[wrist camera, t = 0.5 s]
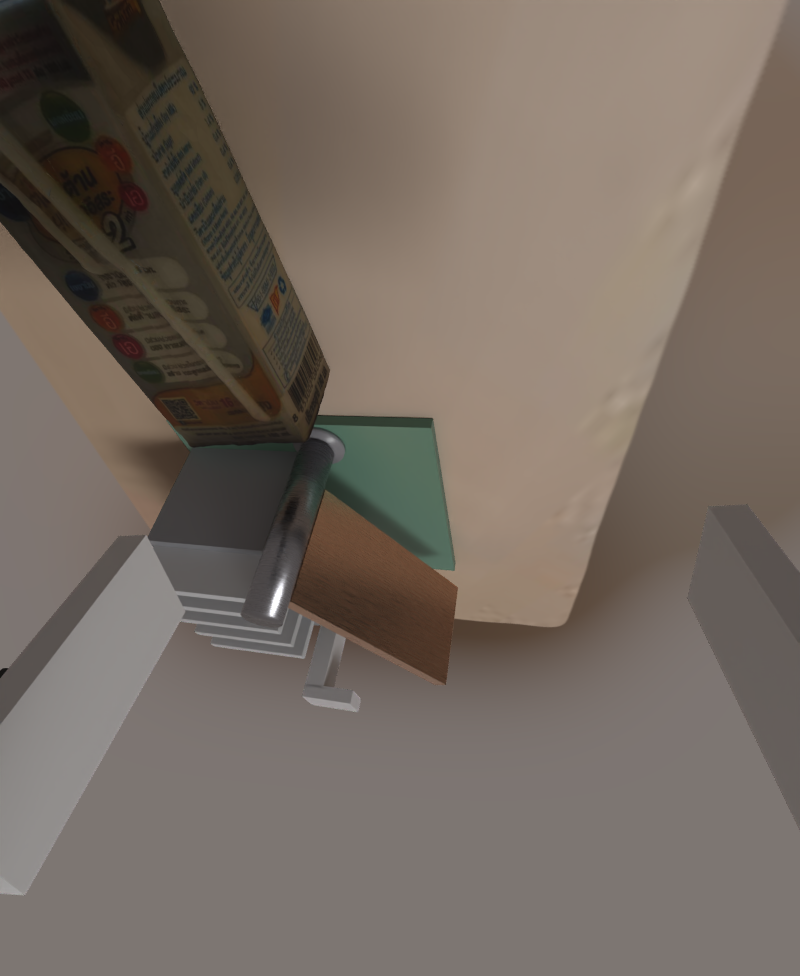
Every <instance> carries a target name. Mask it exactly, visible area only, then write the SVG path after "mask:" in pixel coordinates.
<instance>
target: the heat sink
mask: <svg viewBox="0 0 800 976" xmlns="http://www.w3.org/2000/svg"><path fill="white" fill-rule="evenodd" d="M166 421H167V422H168V423H169V425H170V426H171V427H172V429H173V430H174V431H175V432H176V434H177V435H178V436H179V438H180V439H181V440H182V442H183V443H184V444H185V446H186V447H187V448H188V450H189V451H190V454H189V456H188V458H187V460H186V461H185V463H184V465H183V467H182V469H181V471H180V473H179V475H178V477H177V479H176V481H175V483H174V485H173V487H172V489H171V491H170V493H169V495H168V497H167V499H166V501H165V503H164V505H163V507H162V509H161V511H160V513H159V515H158V517H157V519H156V521H155V523H154V525H153V527H152V529H151V531H150V534H149V536H148V539H149V541H150V543H151V545H152V546H153V549H154V551H155V553H156V555H157V557H158V559H159V561H160V563H161V565H162V567H163V569H164V571H165V572H166V574H167V576H168V578H169V580H170V582H171V584H172V586H173V588H174V590H175V592H176V594H177V596H178V598H179V600H180V602H181V604H182V606H183V608H184V610H185V613H184V615H183V617H182V619H181V620H180V621H181V622H188V623H196V624H197V626H196V629H195V632H196V633H197V634H198V635H205V636H213V637H212V640H211V644H212V645H213V646H216V647H223V648H230V649H238V650H245V651H253V652H260V653H267V654H274V655H282V656H289V657H296V658H303V659H304V658H305V655H306V651H307V647H308V644H309V640H310V637H311V633H312V629H313V625H319V626H320V624H318V623H316V622H314V621H312V620H310V619H308V618H306V617H304V616H302V615H301V614H299V613H297V612H295V611H293V610H291V609H289V608H288V609H287V612H286V616H285V619H284V622H283V625H282V626H281V627H278V628H271V627H264V626H260V625H257V624H254V623H251V622H249V621H247V620H245V619H244V618H243V617H242V616H241V615H240V614H241V611H242V608H243V605H244V602H245V600H246V597H247V594H248V591H249V588H250V586H251V583H252V580H253V577H254V574H255V572H256V569H257V566H258V563H259V560H260V558H261V555H262V552H263V549H264V546H265V544H266V541H267V538H268V535H269V532H270V530H271V527H272V524H273V521H274V519H275V516H276V513H277V510H278V507H279V505H280V502H281V499H282V496H283V493H284V491H285V488H286V485H287V482H288V479H289V477H290V474H291V471H292V468H293V465H294V463H295V460H296V457H297V454H298V451H299V449H300V446H301V444H302V443H265V444H256V445H242V446H237V445H214V446H206V447H196V448H193V447H190V446H189V445H188V443H187V441H186V440H185V439H184V438H183V437H182V436H181V435H180V434H179V433H178V432H177V431H176V430H175V429H174V428H173V426H172V425H171V424H170V422H169V421H168V420H166ZM307 441H318V442H322V443H324V444H326V445H328V446H329V447H330V448H331V449H332V450H333V452H334V455H335V456H334V460H333V463H332V466H331V469H330V473H329V476H328V479H327V482H326V486H325V489H326V490H327V491H328V492H330V493H331V494H333V495H334V496H335V497H337V498H338V499H339V500H341V501H342V502H343V503H345V504H346V505H347V506H349V507H350V508H351V509H353V510H354V511H355V512H357V513H358V514H360V515H361V516H362V517H364V518H365V519H366V520H368V521H369V522H370V523H372V524H373V525H374V526H376V527H377V528H378V529H380V530H381V531H382V532H384V533H385V534H386V535H388V536H389V537H391V538H392V539H393V540H395V541H396V542H397V543H399V544H400V545H401V546H403V547H404V548H405V549H407V550H408V551H409V552H411V553H412V554H413V555H415V556H416V557H418V558H419V559H420V560H422V561H423V562H424V563H426V564H427V565H428V566H430V567H431V568H432V569H441V570H452V571H454V570H455V557H454V551H453V544H452V538H451V531H450V525H449V519H448V512H447V506H446V499H445V493H444V487H443V480H442V474H441V467H440V461H439V455H438V448H437V442H436V435H435V429H434V422H433V419H431V418H391V417H352V416H317V418H316V421H315V424H314V427H313V430H312V433H311V435H310V438H309V439H308V440H307ZM325 489H324V490H325ZM345 639H346V638H344V637H343V636H341V635H339V634H337V633H335V632H333V631H331V630H329V629H327V628H325V627H323V626H322V625H321V627H320V630H319V634H318V638H317V642H316V645H315V649H314V653H313V657H312V661H311V664H310V668H309V672H308V675H307V679H306V683H305V687H304V690H303V694H302V697H303V698H305V699H306V700H307V701H308V702H309V703H311V704H312V705H317V706H323V707H329V708H336V709H342V710H348V711H354V712H358V711H359V707H360V702H361V699H360V698H359V697H358V695H357V694H356V693H355V692H354V691H353V690H347V689H341V688H334V686H335V681H336V676H337V673H338V669H339V664H340V660H341V655H342V652H343V647H344V643H345Z"/></svg>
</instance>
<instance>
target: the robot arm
mask: <svg viewBox="0 0 800 976" xmlns="http://www.w3.org/2000/svg"><path fill="white" fill-rule="evenodd" d="M687 599H688V601H689V603H690V605H691V607H692V609H693V611H694V613H695V615H696V617H697V619H698V621H699V623H700V626H701V627H702V630H703V632H704V634H705V636H706V638H707V640H708V642H709V644H710V646H711V648H712V650H713V652H714V654H715V656H716V659H717V661H718V663H719V665H720V667H721V669H722V671H723V673H724V675H725V677H726V679H727V681H728V683H729V685H730V687H731V689H732V691H733V694H734V696H735V698H736V700H737V702H738V704H739V706H740V708H741V710H742V712H743V714H744V716H745V718H746V720H747V722H748V725H749V727H750V729H751V731H752V733H753V735H754V737H755V739H756V741H757V743H758V745H759V747H760V749H761V751H762V753H763V755H764V758H765V759H766V762H767V764H768V766H769V768H770V770H771V772H772V774H773V776H774V778H775V780H776V782H777V784H778V786H779V788H780V790H781V793H782V795H783V797H784V799H785V801H786V803H787V805H788V807H789V809H790V811H791V813H792V815H793V817H794V819H795V821H796V823H797V826H798V828H799V830H800V572H799V571H798V570H797V568H796V567H795V566H794V565H793V563H792V562H791V561H790V559H789V558H788V557H787V555H786V554H785V553H784V552H783V550H782V549H781V548H780V546H779V545H778V544H777V542H776V541H775V540H774V539H773V537H772V536H771V535H770V533H769V532H768V531H767V529H766V528H765V527H764V525H763V524H762V523H761V521H760V520H759V519H758V518H757V516H756V515H755V514H754V512H753V511H752V510H751V509H750V507H749V506H748V505H747V504H746V505H727V506H709V507H708V511H707V515H706V519H705V523H704V528H703V532H702V537H701V541H700V545H699V550H698V554H697V559H696V563H695V567H694V571H693V576H692V581H691V584H690V589H689V593H688V598H687ZM184 613H185V610H184V608H183V606H182V604H181V602H180V600H179V598H178V596H177V594H176V592H175V590H174V588H173V586H172V584H171V582H170V580H169V578H168V576H167V574H166V572H165V571H164V569H163V567H162V565H161V563H160V561H159V559H158V557H157V555H156V553H155V551H154V549H153V547H152V545H151V543H150V541H149V539H148V537H147V535H135V536H119V537H118V538H117V539H116V540H115V541H114V542H113V544H112V545H111V546H110V547H109V549H108V550H107V551H106V552H105V553H104V554H103V556H102V557H101V558H100V559H99V560H98V562H97V563H96V564H95V565H94V567H93V568H92V569H91V570H90V571H89V573H88V574H87V575H86V576H85V577H84V579H83V580H82V581H81V582H80V583H79V584H78V586H77V587H76V588H75V589H74V590H73V592H72V593H71V594H70V595H69V597H68V598H67V599H66V600H65V601H64V603H63V604H62V605H61V606H60V607H59V608H58V610H57V611H56V612H55V613H54V614H53V616H52V617H51V618H50V619H49V620H48V622H47V623H46V624H45V625H44V626H43V628H42V629H41V630H40V631H39V632H38V634H37V635H36V636H35V637H34V638H33V640H32V641H31V642H30V643H29V644H28V646H27V647H26V648H25V649H24V650H23V652H22V653H21V654H20V655H19V656H18V658H17V659H16V660H15V661H14V662H13V664H12V665H11V666H10V667H9V668H3V669H2V670H0V894H14V895H25V894H26V892H27V891H28V889H29V887H30V885H31V884H32V882H33V880H34V878H35V876H36V874H37V873H38V871H39V869H40V867H41V866H42V864H43V862H44V861H45V859H46V857H47V855H48V854H49V852H50V850H51V848H52V846H53V845H54V843H55V841H56V839H57V838H58V836H59V834H60V832H61V831H62V829H63V827H64V825H65V823H66V822H67V820H68V818H69V816H70V815H71V813H72V811H73V809H74V808H75V806H76V804H77V802H78V801H79V799H80V797H81V795H82V793H83V792H84V790H85V788H86V786H87V785H88V783H89V781H90V779H91V778H92V776H93V773H94V772H95V770H96V769H97V767H98V765H99V763H100V762H101V760H102V758H103V756H104V755H105V753H106V751H107V749H108V748H109V746H110V744H111V742H112V740H113V739H114V737H115V735H116V733H117V732H118V730H119V728H120V726H121V725H122V723H123V721H124V719H125V717H126V716H127V714H128V712H129V710H130V709H131V707H132V705H133V703H134V701H135V700H136V698H137V696H138V694H139V693H140V691H141V689H142V687H143V685H144V684H145V682H146V680H147V679H148V677H149V675H150V673H151V672H152V670H153V668H154V666H155V664H156V663H157V661H158V659H159V657H160V656H161V654H162V652H163V650H164V649H165V647H166V645H167V643H168V642H169V640H170V638H171V636H172V634H173V633H174V631H175V629H176V627H177V626H178V624H179V622H180V620H181V619H182V617H183V615H184Z"/></svg>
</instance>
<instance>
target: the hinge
mask: <svg viewBox="0 0 800 976" xmlns="http://www.w3.org/2000/svg"><path fill="white" fill-rule="evenodd" d="M334 456H335V455H334V452H333V450H332V449H331V448H330V447H329V446H328V445H326V444H324V443H322V442H318V441H306V442H304V443H302V444H301V446H300V449H299V451H298V454H297V457H296V460H295V463H294V465H293V468H292V471H291V474H290V477H289V479H288V482H287V485H286V488H285V491H284V493H283V496H282V499H281V502H280V505H279V507H278V510H277V513H276V516H275V519H274V521H273V524H272V527H271V530H270V532H269V535H268V538H267V541H266V544H265V546H264V549H263V552H262V555H261V558H260V560H259V563H258V566H257V569H256V572H255V574H254V577H253V580H252V583H251V586H250V588H249V591H248V594H247V597H246V600H245V602H244V605H243V608H242V611H241V614H240V615H241V616H242V617H243V618H244V619H245V620H247V621H249V622H251V623H254V624H257V625H260V626H264V627H271V628H278V627H281V626H282V625H283V622H284V619H285V616H286V612H287V609H288V608H289V609H291V610H293V611H295V612H297V613H299V614H301V615H302V616H304V617H306V618H308V619H310V620H312V621H314V622H316V623H318V624H320V625H322V626H323V627H325V628H327V629H329V630H331V631H333V632H335V633H337V634H339V635H341V636H343V637H344V638H346V639H348V640H350V641H352V642H354V643H356V644H358V645H360V646H362V647H364V648H366V649H367V650H369V651H371V652H373V653H375V654H377V655H379V656H381V657H383V658H384V659H387V660H388V661H390V662H392V663H394V664H396V665H398V666H400V667H402V668H404V669H406V670H408V671H409V672H411V673H413V674H415V675H417V676H419V677H421V678H423V679H425V680H426V681H428V682H430V683H432V684H435V685H446V680H447V672H448V664H449V656H450V648H451V639H452V631H453V623H454V615H455V607H456V599H457V591H458V587H457V586H455V585H454V584H453V583H451V582H450V581H449V580H447V579H446V578H445V577H443V576H442V575H440V574H439V573H438V572H436V571H435V570H434V569H432V568H431V567H430V566H428V565H427V564H426V563H424V562H423V561H422V560H420V559H419V558H418V557H416V556H415V555H413V554H412V553H411V552H409V551H408V550H407V549H405V548H404V547H403V546H401V545H400V544H399V543H397V542H396V541H395V540H393V539H392V538H391V537H389V536H388V535H386V534H385V533H384V532H382V531H381V530H380V529H378V528H377V527H376V526H374V525H373V524H372V523H370V522H369V521H368V520H366V519H365V518H364V517H362V516H361V515H360V514H358V513H357V512H355V511H354V510H353V509H351V508H350V507H349V506H347V505H346V504H345V503H343V502H342V501H341V500H339V499H338V498H337V497H335V496H334V495H333V494H331V493H330V492H328V491H327V490H326V489H325V486H326V482H327V479H328V476H329V473H330V469H331V466H332V463H333V460H334ZM324 489H325V490H324Z"/></svg>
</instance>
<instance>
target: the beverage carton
mask: <svg viewBox="0 0 800 976" xmlns="http://www.w3.org/2000/svg"><path fill="white" fill-rule="evenodd" d="M0 222H1V223H2V224H3V226H4V227H5V228H6V229H7V230H8V231H9V233H10V234H11V235H12V236H13V237H14V239H15V240H16V241H17V242H18V244H19V245H20V246H21V248H22V249H23V250H24V251H25V252H26V253H27V254H28V256H29V257H30V258H31V259H32V260H33V261H34V263H35V264H36V265H37V266H38V267H39V269H40V270H41V271H42V272H43V274H44V275H45V276H46V277H47V278H48V280H49V281H50V282H51V283H52V284H53V286H54V287H55V288H56V289H57V290H58V291H59V293H60V294H61V295H62V296H63V297H64V299H65V300H66V301H67V302H68V303H69V305H70V306H71V307H72V308H73V310H74V311H75V312H76V313H77V314H78V316H79V317H80V318H81V319H82V320H83V322H84V323H85V324H86V325H87V326H88V328H89V329H90V330H91V331H92V332H93V333H94V335H95V336H96V337H97V338H98V339H99V340H100V341H101V343H102V344H103V345H104V346H105V347H106V348H107V350H108V351H109V352H110V353H111V354H112V356H113V357H114V358H115V359H116V361H117V362H118V363H119V364H120V365H121V366H122V368H123V369H124V370H125V371H126V372H127V373H128V374H129V376H130V377H131V378H132V379H133V380H134V381H135V383H136V384H137V385H138V386H139V387H140V389H141V390H142V391H143V392H144V393H145V395H146V396H147V397H148V398H149V399H150V401H151V402H152V403H153V404H154V405H155V407H156V408H157V409H158V410H159V411H160V412H161V413H162V415H163V416H164V417H165V418H166V419H167V420H168V421H169V422H170V424H171V425H172V426H173V428H174V429H175V430H176V431H177V432H178V433H179V434H180V435H181V436H182V437H183V438H184V439H185V440H186V441H187V443H188V445H189V446H190V447H193V448H196V447H206V446H214V445H237V446H242V445H256V444H265V443H304V442H306V441H307V440H308V439H309V438H310V435H311V433H312V430H313V427H314V424H315V421H316V418H317V415H318V412H319V408H320V404H321V402H322V399H323V396H324V390H325V388H326V385H327V381H328V378H329V373H330V369H329V367H328V365H327V363H326V361H325V358H324V356H323V353H322V351H321V349H320V346H319V344H318V342H317V339H316V337H315V335H314V333H313V330H312V328H311V326H310V324H309V321H308V319H307V317H306V315H305V312H304V310H303V308H302V306H301V304H300V301H299V299H298V297H297V295H296V293H295V290H294V288H293V286H292V284H291V282H290V280H289V278H288V276H287V274H286V271H285V269H284V267H283V265H282V263H281V260H280V258H279V256H278V254H277V251H276V249H275V247H274V245H273V242H272V240H271V238H270V236H269V234H268V232H267V230H266V228H265V226H264V224H263V222H262V219H261V217H260V215H259V213H258V211H257V209H256V206H255V204H254V202H253V200H252V198H251V195H250V193H249V191H248V189H247V187H246V184H245V182H244V180H243V178H242V176H241V173H240V171H239V169H238V167H237V165H236V163H235V160H234V158H233V156H232V154H231V152H230V149H229V147H228V145H227V143H226V141H225V138H224V136H223V134H222V132H221V130H220V127H219V125H218V123H217V121H216V119H215V117H214V115H213V112H212V110H211V108H210V106H209V104H208V102H207V100H206V98H205V95H204V93H203V91H202V88H201V86H200V84H199V82H198V80H197V78H196V76H195V74H194V72H193V70H192V68H191V66H190V64H189V62H188V60H187V58H186V56H185V54H184V52H183V50H182V48H181V46H180V44H179V42H178V40H177V38H176V36H175V34H174V32H173V30H172V28H171V25H170V23H169V21H168V19H167V16H166V14H165V12H164V10H163V8H162V6H161V4H160V2H159V0H0Z"/></svg>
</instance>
